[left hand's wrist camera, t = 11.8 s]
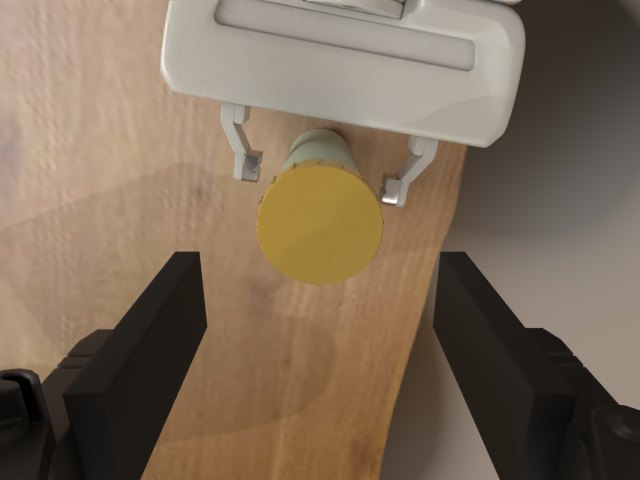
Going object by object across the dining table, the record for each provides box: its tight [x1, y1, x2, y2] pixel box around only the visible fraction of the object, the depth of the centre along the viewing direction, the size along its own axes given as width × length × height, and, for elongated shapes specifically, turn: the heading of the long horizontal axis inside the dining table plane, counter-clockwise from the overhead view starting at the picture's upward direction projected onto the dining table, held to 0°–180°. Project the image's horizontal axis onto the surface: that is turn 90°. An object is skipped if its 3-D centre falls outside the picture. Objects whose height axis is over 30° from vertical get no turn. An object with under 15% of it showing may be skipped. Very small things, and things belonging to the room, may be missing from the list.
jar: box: [282, 128, 358, 171], centre depth 28 cm, size 5×5×16 cm
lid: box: [256, 157, 384, 285], centre depth 21 cm, size 6×6×2 cm
